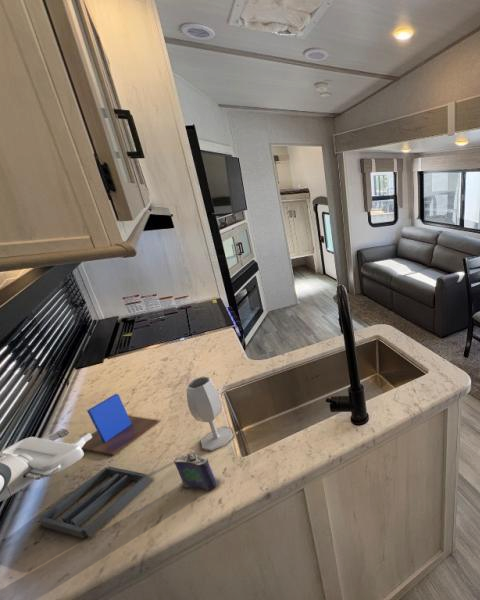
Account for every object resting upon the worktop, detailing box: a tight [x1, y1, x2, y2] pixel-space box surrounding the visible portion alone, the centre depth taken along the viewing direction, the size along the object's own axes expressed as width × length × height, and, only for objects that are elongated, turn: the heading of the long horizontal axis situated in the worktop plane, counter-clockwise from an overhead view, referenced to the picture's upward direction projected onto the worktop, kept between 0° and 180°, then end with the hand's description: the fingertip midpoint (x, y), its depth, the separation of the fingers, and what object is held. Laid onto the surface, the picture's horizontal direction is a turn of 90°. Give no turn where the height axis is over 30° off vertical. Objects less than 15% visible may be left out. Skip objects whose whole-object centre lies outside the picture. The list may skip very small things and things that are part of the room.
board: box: [81, 415, 158, 456], centre depth 99 cm, size 16×14×1 cm
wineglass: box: [185, 376, 234, 452], centre depth 91 cm, size 9×9×21 cm
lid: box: [86, 393, 132, 442], centre depth 97 cm, size 1×8×12 cm, turn 166°
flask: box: [173, 450, 218, 492], centre depth 78 cm, size 9×3×11 cm, turn 79°
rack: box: [39, 466, 151, 540], centre depth 76 cm, size 15×15×2 cm
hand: (77, 432), depth 89 cm, fingers open, 8 cm apart
